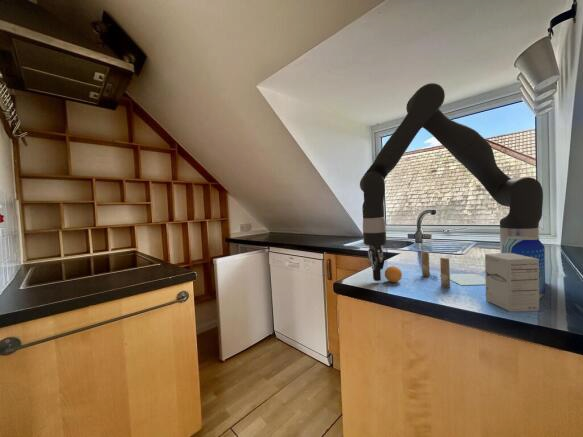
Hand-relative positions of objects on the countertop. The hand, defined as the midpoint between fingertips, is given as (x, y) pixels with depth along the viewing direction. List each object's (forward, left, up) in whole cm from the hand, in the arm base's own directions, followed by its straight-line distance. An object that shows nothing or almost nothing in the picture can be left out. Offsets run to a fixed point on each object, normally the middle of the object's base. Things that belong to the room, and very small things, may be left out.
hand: (377, 280), depth 84 cm
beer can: (-36, +15, -1) cm, 39 cm away
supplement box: (-27, +22, -1) cm, 35 cm away
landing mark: (-31, 0, -1) cm, 31 cm away
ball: (-6, 0, +2) cm, 6 cm away
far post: (-20, -6, -1) cm, 21 cm away
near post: (-20, +6, -1) cm, 21 cm away
